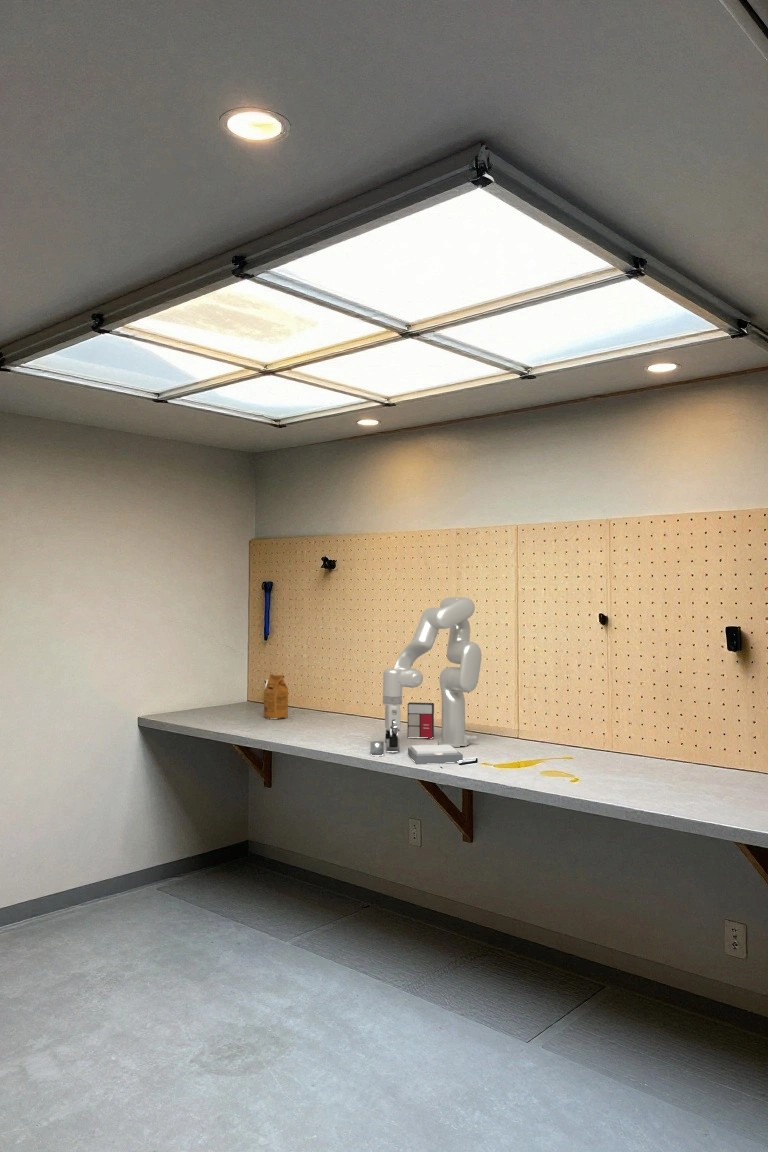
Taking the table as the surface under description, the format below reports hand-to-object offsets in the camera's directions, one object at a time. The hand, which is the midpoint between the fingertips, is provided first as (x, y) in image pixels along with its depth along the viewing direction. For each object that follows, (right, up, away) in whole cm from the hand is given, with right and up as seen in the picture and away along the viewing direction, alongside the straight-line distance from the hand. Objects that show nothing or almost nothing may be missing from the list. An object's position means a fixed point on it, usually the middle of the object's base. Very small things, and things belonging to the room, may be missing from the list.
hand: (391, 745), depth 319 cm
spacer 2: (+1, -3, 0) cm, 3 cm away
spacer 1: (-6, -3, -7) cm, 9 cm away
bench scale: (+16, -2, -15) cm, 22 cm away
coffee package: (-57, -6, +94) cm, 110 cm away
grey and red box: (+13, -4, +32) cm, 35 cm away
